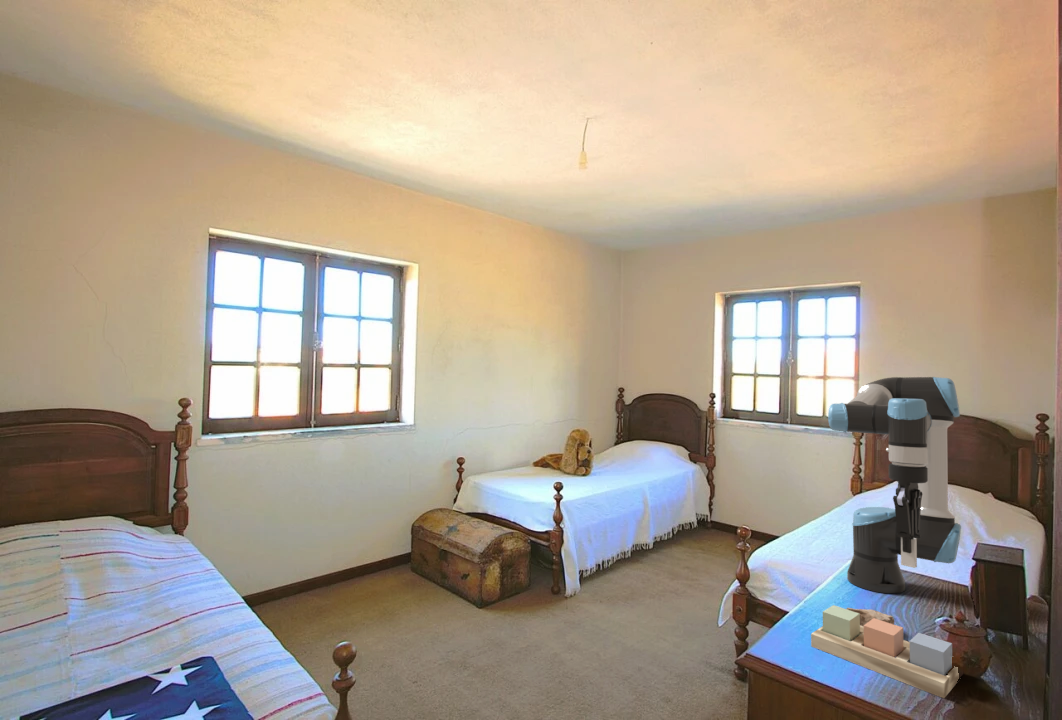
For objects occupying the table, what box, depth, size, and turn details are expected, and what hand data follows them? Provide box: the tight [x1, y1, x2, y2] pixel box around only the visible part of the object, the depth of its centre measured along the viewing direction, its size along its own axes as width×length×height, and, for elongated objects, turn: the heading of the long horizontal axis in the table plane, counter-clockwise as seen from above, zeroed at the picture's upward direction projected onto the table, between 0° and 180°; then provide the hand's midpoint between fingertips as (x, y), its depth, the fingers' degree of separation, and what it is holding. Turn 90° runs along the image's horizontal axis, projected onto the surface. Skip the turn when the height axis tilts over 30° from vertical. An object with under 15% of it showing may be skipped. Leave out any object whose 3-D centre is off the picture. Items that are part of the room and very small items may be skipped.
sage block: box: [822, 604, 860, 641], centre depth 129 cm, size 6×6×5 cm
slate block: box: [909, 632, 953, 676], centre depth 115 cm, size 6×6×5 cm
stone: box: [846, 607, 895, 626], centre depth 138 cm, size 9×11×5 cm
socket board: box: [810, 625, 959, 699], centre depth 122 cm, size 14×26×3 cm, turn 38°
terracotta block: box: [864, 618, 904, 658], centre depth 122 cm, size 6×6×5 cm
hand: (908, 565), depth 124 cm, fingers closed
